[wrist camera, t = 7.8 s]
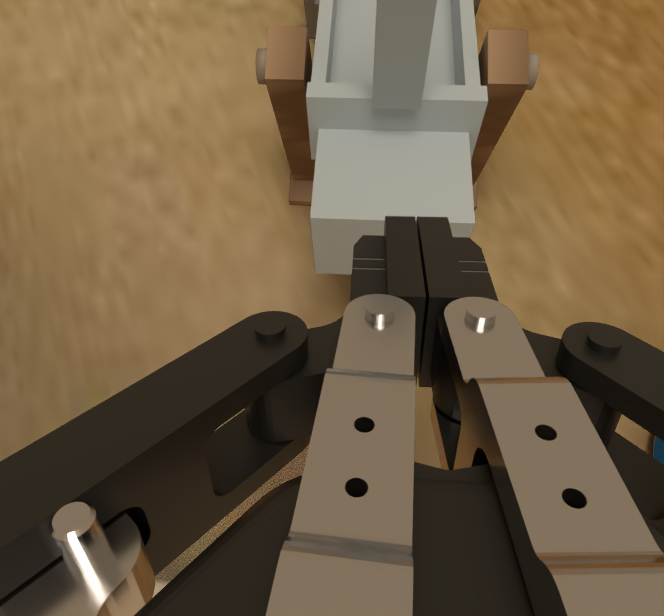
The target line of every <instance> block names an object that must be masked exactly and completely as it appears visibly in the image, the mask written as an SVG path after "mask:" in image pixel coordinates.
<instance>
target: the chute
mask: <svg viewBox="0 0 664 616" xmlns="http://www.w3.org/2000/svg"><path fill="white" fill-rule="evenodd" d="M306 103H307V115H308V126H309V138H310V149H311V159H313V160H316V161H315V171H314V181H313V192H312V202H311V213H310V223H311V232H312V242H313V251H314V261H315V270H316V273H323V274H349V275H352V263H353V248H354V244H355V243H356V242H357V241H358V240H359V239H360V238H361V237H362V236H363V235H379V236H384V222H385V216H415V219H416V218H417V216H421V217H448V220H449V224H450V228H451V232H452V236H453V237H469V238H470V237H471V234H472V231H473V228H474V225H475V214H474V200H473V185H472V171H471V159H472V155H473V152H474V148H475V145H476V141H477V138H478V135H479V131H480V128H481V124H482V121H483V117H484V114H485V110H486V107H487V103H488V94H487V86H481V84H480V72H479V61H478V49H477V38H476V26H475V15H474V3H473V0H320V4H319V13H318V22H317V31H316V40H315V49H314V58H313V67H312V76H311V82H308V83H307V92H306Z"/></svg>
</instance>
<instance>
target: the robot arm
mask: <svg viewBox="0 0 664 616" xmlns="http://www.w3.org/2000/svg"><path fill="white" fill-rule="evenodd" d="M417 374H418V379H419V387H432V392H433V399H432V406H431V413H430V414H431V421H432V425H433V430H434V435H435V439H436V444H437V449H438V454H439V458H440V463H441V468H442V469H439V468H435V467H431V466H427V465H424V464H420V463H416V462H414V441H415V396H416V383H417ZM244 408H245V410H244V411H242V412H241V413H240V414H238V415H237V416H235V417H234V418H233V419H231V420H230V421H229V422H227V423H226V424H224V425H223V426H222V427H220V428H219V429H217V428H218V427H219V426H220V425H221V424H223V423H224V422H226V421H227V420H228V419H230V418H231V417H233V416H234V415H235V414H237V413H238V412H240V411H241V410H242V409H244ZM622 414H623V415H624V416H626V417H627V418H629V419H630V420H632V421H634V422H635V423H637V424H638V425H640V426H641V427H643V428H644V429H646V430H647V431H649V432H650V433H652V434H653V435H655V436H657V437H658V438H660V439H661V440H663V441H664V352H662V351H661V350H659V349H657V348H655V347H653V346H651V345H649V344H648V343H646V342H644V341H642V340H640V339H638V338H636V337H635V336H633V335H631V334H629V333H627V332H625V331H623V330H621V329H619V328H616V327H614V326H611V325H607V324H603V323H596V322H582V323H577V324H573V325H571V326H569V327H568V328H566V330H565V331H564V333H563V335H562V339H558V338H553V337H549V336H545V335H541V334H537V333H533V332H530V331H527V330H525V329H523V328H522V327H521V325H520V323H519V321H518V319H517V317H516V315H515V314H514V312H513V311H512V310H511V309H510V308H508V307H507V306H505V305H504V304H502V303H500V302H498V299H497V296H496V293H495V290H494V286H493V283H492V280H491V277H490V274H489V273H488V268H487V265H486V263H485V259H484V256H483V253H482V249H481V248H480V247H479V246H478V245H477V244H476V243H475V242H473V241H472V240H471V239H470V238H469V237H453V236H452V232H451V228H450V224H449V220H448V217H421V216H417V218H416V219H415V216H385V222H384V236H379V235H363V236H362V237H361V238H360V239H359V240H358V241H357V242H356V243H355V244H354V248H353V263H352V278H351V293H350V303H349V304H348V305H347V307H346V308H345V311H344V316H343V317H342V318H340V319H339V320H337V321H335V322H333V323H331V324H328V325H325V326H321V327H316V328H311V329H307V327H306V325H305V323H304V322H303V321H302V320H301V319H300V318H299V317H297V316H295V315H293V314H290V313H286V312H281V311H268V312H261V313H257V314H254V315H252V316H249V317H247V318H246V319H244V320H242V321H240V322H239V323H237V324H235V325H234V326H232V327H230V328H228V329H227V330H225V331H223V332H222V333H220V334H218V335H216V336H215V337H213V338H211V339H210V340H208V341H206V342H205V343H203V344H201V345H199V346H198V347H196V348H194V349H193V350H191V351H189V352H187V353H186V354H184V355H182V356H181V357H179V358H177V359H175V360H174V361H172V362H170V363H169V364H167V365H165V366H163V367H162V368H160V369H158V370H157V371H155V372H153V373H151V374H150V375H148V376H146V377H145V378H143V379H141V380H139V381H138V382H136V383H134V384H133V385H131V386H129V387H128V388H126V389H124V390H122V391H121V392H119V393H117V394H116V395H114V396H112V397H110V398H109V399H107V400H105V401H104V402H102V403H100V404H98V405H97V406H95V407H93V408H92V409H90V410H88V411H86V412H85V413H83V414H81V415H80V416H78V417H76V418H74V419H73V420H71V421H69V422H68V423H66V424H64V425H62V426H61V427H59V428H57V429H56V430H54V431H52V432H51V433H49V434H47V435H45V436H44V437H42V438H40V439H39V440H37V441H35V442H33V443H32V444H30V445H28V446H27V447H25V448H23V449H21V450H20V451H18V452H16V453H15V454H13V455H11V456H9V457H8V458H6V459H4V460H3V461H1V462H0V616H664V465H663V464H662V463H660V462H659V461H657V460H656V459H654V458H653V457H651V456H650V455H649V454H647V453H646V452H644V451H643V450H641V449H640V448H638V447H637V446H635V445H634V444H632V443H631V442H630V441H628V440H627V439H625V438H624V437H622V436H621V435H619V434H618V433H616V432H615V429H616V426H617V424H618V422H619V419H620V417H621V415H622ZM216 429H217V430H216ZM214 430H216V431H215V432H214ZM309 442H310V444H309ZM308 444H309V448H308V453H307V457H306V462H305V466H304V471H303V475H301V476H299V477H296V478H294V479H291V480H289V481H287V482H285V483H283V484H281V485H280V486H278V487H276V488H274V489H273V490H271V491H270V492H269V493H267V494H266V495H264V496H263V497H262V498H261V499H260V500H258V501H257V502H256V503H255V504H254V505H253V506H252V507H251V508H250V509H248V510H247V511H246V512H245V513H244V514H243V515H242V516H241V517H240V518H239V519H238V520H237V521H235V522H234V523H233V524H232V525H231V526H230V527H229V528H228V529H227V530H226V531H225V532H224V533H222V534H221V535H220V536H219V537H218V538H217V539H216V540H215V541H214V542H213V543H212V544H211V545H209V546H208V547H207V548H206V549H205V550H204V551H203V552H202V553H201V554H200V555H199V556H198V557H196V558H195V559H194V560H193V561H192V562H191V563H190V564H189V565H188V566H187V567H186V568H185V569H184V570H182V571H181V572H180V573H179V574H178V575H177V576H176V577H175V578H174V579H173V580H172V581H171V582H169V583H168V584H167V585H166V586H165V587H164V588H163V589H162V590H161V591H160V592H159V593H158V594H156V595H155V596H154V597H153V598H152V596H153V593H154V588H155V576H156V575H157V574H158V573H159V572H160V571H161V570H163V569H164V568H165V567H166V566H167V565H169V564H170V563H171V562H172V561H173V560H174V559H176V558H177V557H178V556H179V555H180V554H182V553H183V552H184V551H185V550H186V549H187V548H189V547H190V546H191V545H192V544H193V543H194V542H196V541H197V540H198V539H199V538H200V537H202V536H203V535H204V534H205V533H206V532H207V531H209V530H210V529H211V528H212V527H213V526H215V525H216V524H217V523H218V522H219V521H220V520H222V519H223V518H224V517H225V516H226V515H228V514H229V513H230V512H231V511H232V510H233V509H235V508H236V507H237V506H238V505H239V504H241V503H242V502H243V501H244V500H245V499H246V498H248V497H249V496H250V495H251V494H252V493H253V492H255V491H256V490H257V489H258V488H259V487H261V486H262V485H263V484H264V483H265V482H266V481H268V480H269V479H270V478H271V477H272V476H274V475H275V474H276V473H277V472H278V471H279V470H281V469H282V468H283V467H284V466H285V465H287V464H288V463H289V462H290V461H291V460H292V459H294V458H295V457H296V456H297V455H298V454H299V453H301V452H302V451H303V450H304V449H305V448H306V447H307V445H308Z"/></svg>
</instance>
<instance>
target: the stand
mask: <svg viewBox="0 0 664 616" xmlns="http://www.w3.org/2000/svg"><path fill="white" fill-rule="evenodd" d="M478 61H479V72H480V84H481V86H487V94H488V103H487V107H486V110H485V114H484V117H483V121H482V124H481V128H480V131H479V135H478V138H477V141H476V145H475V148H474V152H473V155H472V159H471V171H472V185H473V200H474V210H475V209H476V207H477V178H478V176H479V175H480V173H481V171H482V169H483V167H484V165H485V164H486V162H487V160H488V158H489V156H490V154H491V153H492V151H493V149H494V147H495V145H496V143H497V142H498V140H499V138H500V136H501V134H502V132H503V131H504V129H505V127H506V125H507V123H508V121H509V120H510V118H511V116H512V114H513V112H514V110H515V109H516V107H517V105H518V103H519V101H520V100H521V98H522V96H523V94H524V92H525V90H532V89H533V87H534V85H535V82H536V79H537V74H538V67H539V59H538V55H537V54H534V53H528V30H496V29H488V31H487V34H486V37H485V40H484V43H483V45H482V48H481V51H480V54H479V57H478ZM256 75H257V80H258V83H259V84H266V85H267V89H268V92H269V96H270V99H271V103H272V106H273V110H274V113H275V117H276V120H277V124H278V127H279V131H280V134H281V138H282V141H283V145H284V148H285V152H286V155H287V159H288V162H289V166H290V169H291V175H290V191H289V203H290V204H295V205H311V202H312V192H313V181H314V171H315V161H316V160H313V159H311V149H310V138H309V126H308V115H307V103H306V92H307V83H308V82H311V76H312V60H311V52H310V45H309V37H308V30H307V27H302V26H269V29H268V42H267V49H257V53H256Z"/></svg>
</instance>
